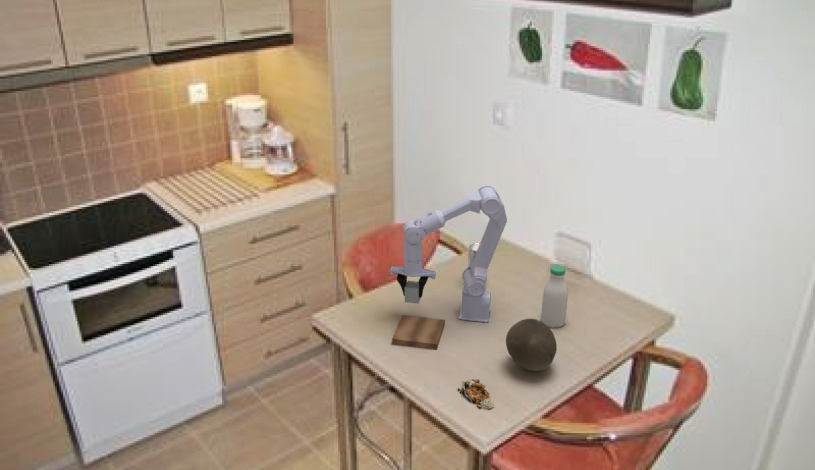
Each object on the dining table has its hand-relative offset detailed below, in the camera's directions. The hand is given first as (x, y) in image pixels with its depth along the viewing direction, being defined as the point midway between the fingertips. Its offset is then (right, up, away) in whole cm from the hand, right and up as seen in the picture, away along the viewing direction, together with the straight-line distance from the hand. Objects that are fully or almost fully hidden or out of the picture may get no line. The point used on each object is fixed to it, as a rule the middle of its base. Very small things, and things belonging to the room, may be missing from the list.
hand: (413, 295), depth 225 cm
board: (+2, -12, -5) cm, 13 cm away
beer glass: (+23, +2, +23) cm, 32 cm away
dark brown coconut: (+34, -19, -21) cm, 44 cm away
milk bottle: (+45, -9, +1) cm, 46 cm away
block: (0, -1, +1) cm, 2 cm away
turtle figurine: (+18, -26, -33) cm, 45 cm away
